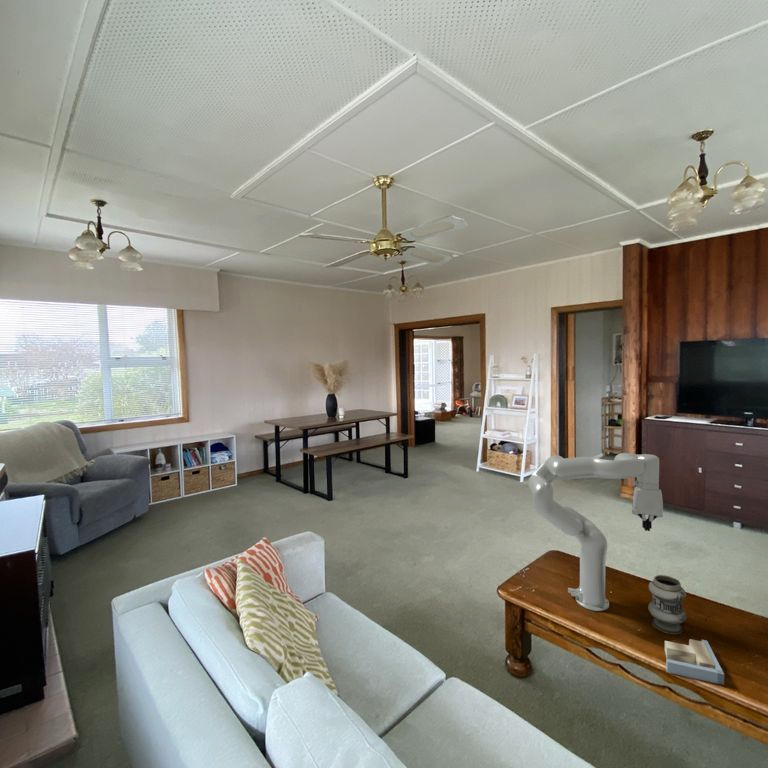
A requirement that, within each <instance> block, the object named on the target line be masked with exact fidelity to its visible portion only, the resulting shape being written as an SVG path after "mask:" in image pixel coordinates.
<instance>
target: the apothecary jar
mask: <svg viewBox="0 0 768 768" xmlns="http://www.w3.org/2000/svg"><path fill="white" fill-rule="evenodd" d="M648 589H649V592H650V593H651V601H650V602H649V603H648V606H647V609H648V611H649V613H650V614H651V615H652V616H653V618H652V619H651V625H652V626H653V627H654V628H655V629H657V630H659V631H660V632H662V633H666V634H669V635H679V634H681V633H682V632H683V628H682V626H681V625H680V624H683V623H685V622H686V620H687V613H686V612H685V610H684V608H683V601H684V600H686V597H687V593H686V590H685V589H684V588H683V587H682V583H681V582H680V580H679V579H677V578H674V577H672V576H669V575H666V574H665V575H664V574H658V575H657V574H656V575H655V576H654V577H653V579H652V580H651V581H650V582H649V583H648Z"/></svg>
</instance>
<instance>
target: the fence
mask: <svg viewBox="0 0 768 768" xmlns="http://www.w3.org/2000/svg"><path fill="white" fill-rule="evenodd" d="M700 641H702V642H704V645H705V647H706V649H707V651H708V653H709V655H710V657H711V659H712V661H713V663H714V665H715V666H714V669H712V668H707V667H702V666H698V665H693V664H688V663H684V662H679V661H675V660H670V659H667V658H666V660H665V661H666V662H665V666H666V667H665V670H666V672H667V673H669V674H673V675H678V676H680V677H681V676H682V677H686V678H691V679H695V680H699V681H704V682H709V683H713V684H717V685H723V686H725V673H724V670H723V668H722V667H721V665H720V663H719V661H718V659H717V658H716V656H715V653H714V651H713V650H712V647H711V646H710V644H709V641H708V640H705V639H701V640H700Z"/></svg>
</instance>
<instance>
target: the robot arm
mask: <svg viewBox="0 0 768 768" xmlns="http://www.w3.org/2000/svg"><path fill="white" fill-rule="evenodd" d="M587 478H595V479H596V478H597V479H607V480H608V479H610V480H612V479H613V480H622V479H623V480H625V479H634V478H636V480H634V481H632V485H633V486H634V485H635V487H634V490H633V495H632V496H633V497H632V509H631V514H632V515H634V516H638V517H639V518H640V519H641V521H642V523H641V525H642V526H641V527H642V528H643V529H644V531H645V532H650V531H651V529H652V523H653V521H654V520H655V519H659V518H663V517H664V503H663V501H664V499H663V495H662V494H663V493H662V490H661V489H659V487H660V486H659V485H660V483H659V482H660V480H659V479H660V458H659V457H658V456H657V455H655V454H648V453H643V454H636V453H631V452H629V453H628V452H620V453H618V454H617V455H616V456H614V459H613V460H611V459H604V458H599V457H595V456H590V455H589V456H578V457H577V456H576V457H567V458H564V457H563V456H560V455H559V454H556V455H555V454H554V455H552V456H549V457H548V458H547V459H546V460H545V461H543V463H542V464H541V465H540V466H539V467H538V468H537V469H536V470H535V471H534V472H533V473H532V474H531V475H530V477H529V478H528V481H527V486H528V488H529V490H530V492H531V493H532V505H533V508H534V510H535V512H536V513H537V514H538V515H540V516H541V517H542V518H543V519H545V520H546V521H548V522H549V523H550V524H552V526H554V527H555V528H557V529H558V530H560V531H561V532H562V533H563V534H565V535H567V536H569V537H575V538H576V539H577V540H578V542H579V543H580V545H581V550H580V555H579V586H578V588H572V587H567V593H569V594H571V596H573V597H575V602H577V604H578V605H579V606H581V607H583V608H584V609H587V610H590V611H595V612H604V611H606V610H608V609H609V608H610V601H609V600H608V599H607V598H606V559H607V553H608V545H609V544H608V541H607V538H606V536H605V534H604V533H603V532H602V531H601V529H599V527H597V525H596V524H595V523H593V522H592V521H591V520H590V519H588V518H587V517H586V516H584V515H582V514H581V513H580V512H578V511H577V510H575V509H574V508H572V507H570V506H568V505H562V504H561V503H559V502H557V501H555V500H554V487H553V486H552V483H553V482H554V481H555V480H556V479H557V480H562V481H563V480H575V479H587ZM646 515H648V517H647V518H646Z"/></svg>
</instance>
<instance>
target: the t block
mask: <svg viewBox="0 0 768 768" xmlns="http://www.w3.org/2000/svg"><path fill="white" fill-rule="evenodd" d="M664 654H665V658H666V659H670V660H675V661H679V662H684V663H688V664H693V665H698V666H702V667H707V668H712V669H714V666H715V665H714V663H713V661H712V659H711V657H710V655H709V653H708V651H707V649H706V647H705V645H704V642H702V641H701V640H696V639H692V638H691V639H690V638H689V640H688V644H684V643H678V642H673V641H668V640H664Z"/></svg>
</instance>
